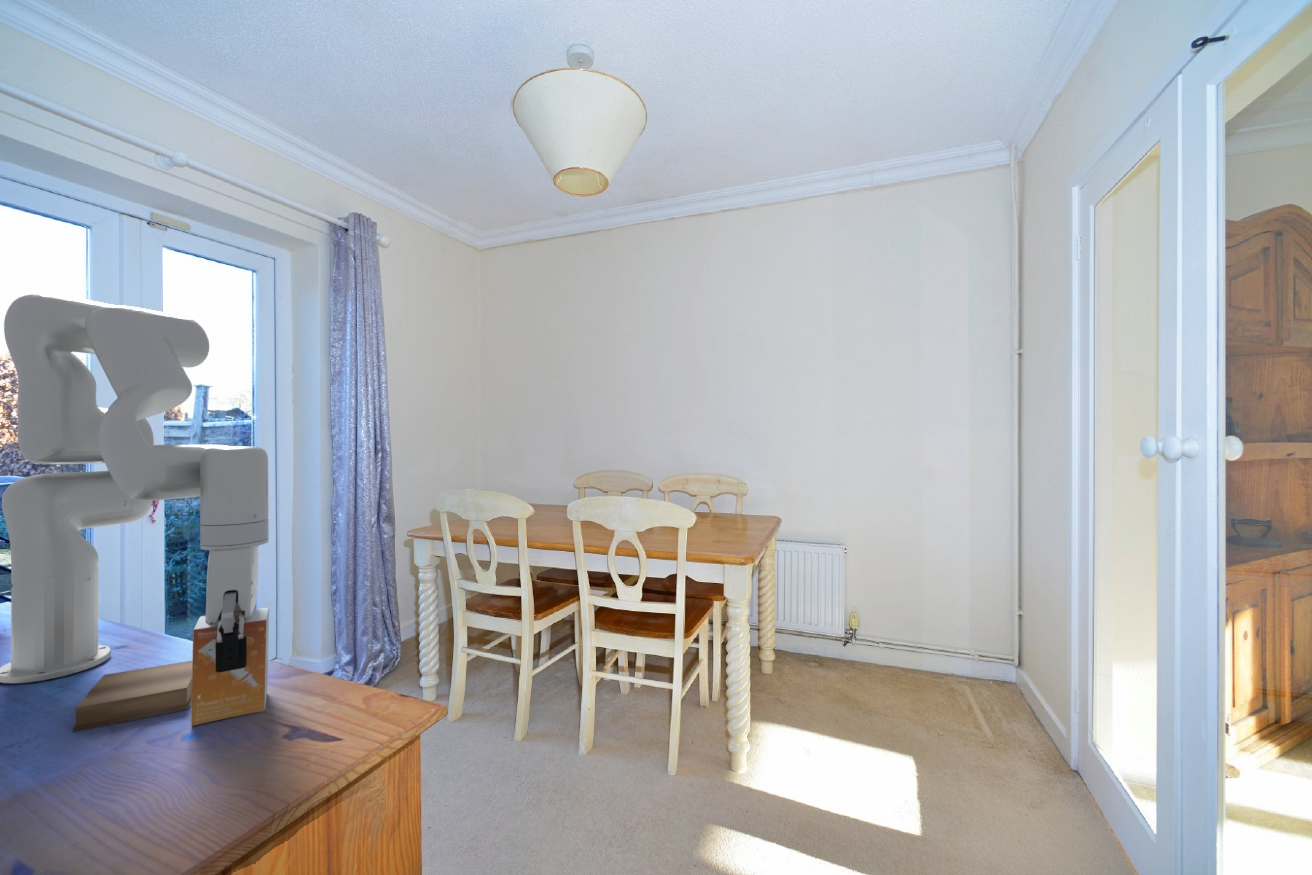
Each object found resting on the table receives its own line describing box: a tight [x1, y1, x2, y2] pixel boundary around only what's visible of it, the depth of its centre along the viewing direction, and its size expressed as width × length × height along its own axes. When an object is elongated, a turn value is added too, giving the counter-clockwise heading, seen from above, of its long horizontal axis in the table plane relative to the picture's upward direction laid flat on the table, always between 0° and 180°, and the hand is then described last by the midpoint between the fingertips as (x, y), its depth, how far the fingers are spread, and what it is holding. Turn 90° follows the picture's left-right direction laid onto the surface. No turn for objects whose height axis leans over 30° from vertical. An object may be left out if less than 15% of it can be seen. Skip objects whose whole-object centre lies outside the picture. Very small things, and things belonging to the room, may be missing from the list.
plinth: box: [72, 660, 192, 733], centre depth 77 cm, size 11×11×3 cm
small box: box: [190, 607, 270, 727], centre depth 76 cm, size 8×6×13 cm
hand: (236, 656), depth 75 cm, fingers open, 9 cm apart
